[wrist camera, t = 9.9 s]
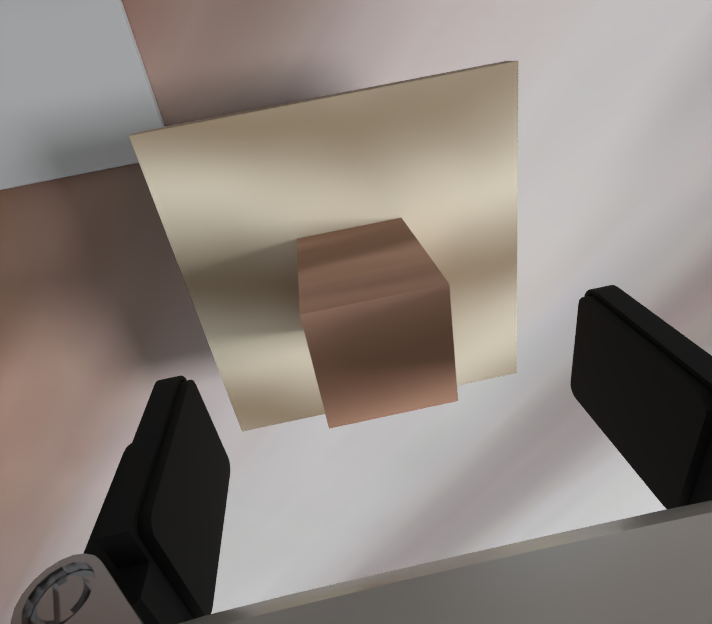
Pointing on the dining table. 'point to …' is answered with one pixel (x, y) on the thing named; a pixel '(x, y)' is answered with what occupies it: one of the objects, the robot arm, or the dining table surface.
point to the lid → (349, 243)
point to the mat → (69, 89)
